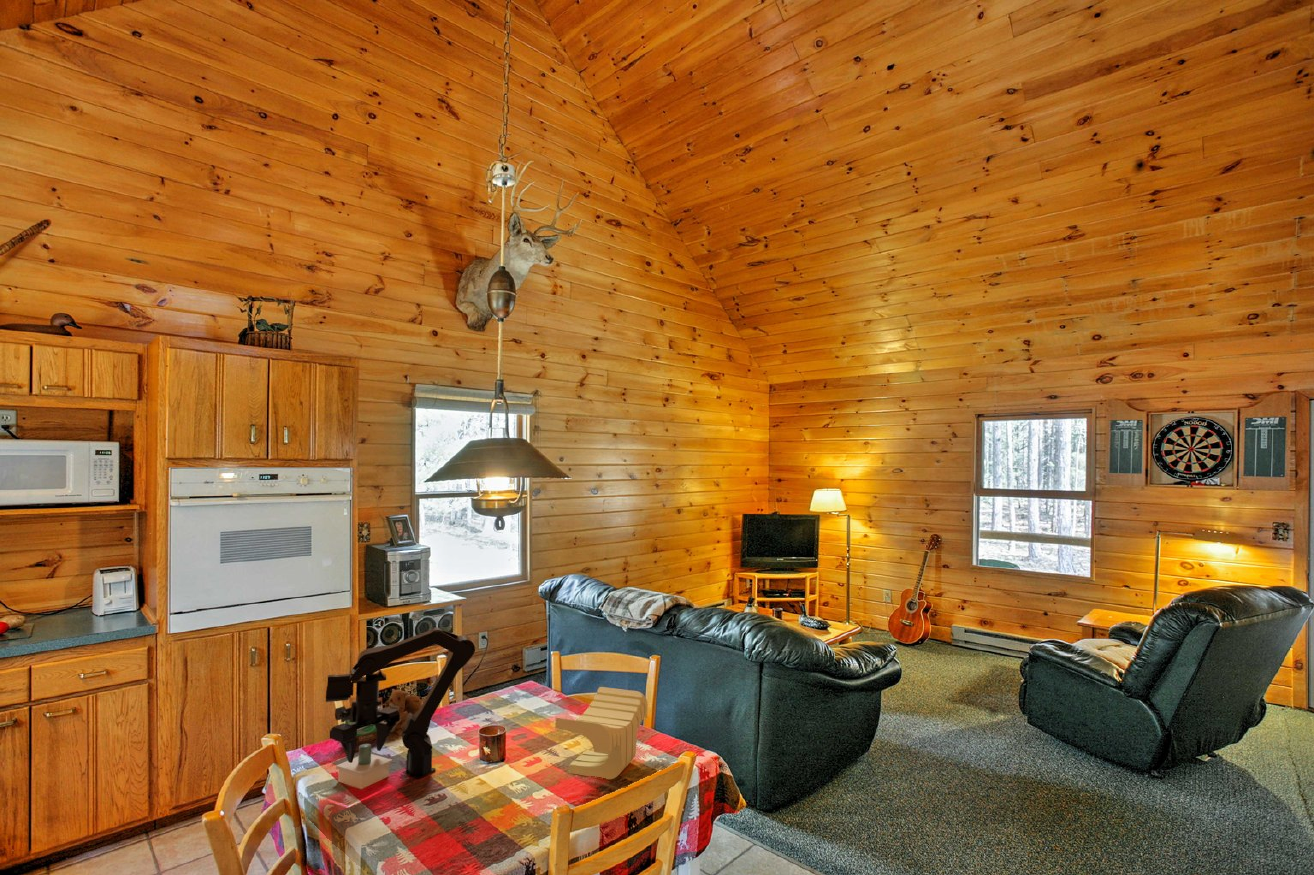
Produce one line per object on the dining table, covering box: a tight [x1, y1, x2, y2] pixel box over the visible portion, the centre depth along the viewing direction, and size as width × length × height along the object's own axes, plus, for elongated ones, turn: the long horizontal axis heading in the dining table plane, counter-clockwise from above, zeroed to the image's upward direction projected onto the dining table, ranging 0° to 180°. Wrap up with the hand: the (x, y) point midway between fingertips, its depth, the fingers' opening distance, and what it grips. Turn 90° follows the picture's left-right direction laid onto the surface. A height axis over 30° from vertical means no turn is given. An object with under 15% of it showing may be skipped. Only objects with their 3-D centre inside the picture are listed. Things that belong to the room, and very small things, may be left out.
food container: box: [345, 704, 384, 745], centre depth 212 cm, size 12×6×10 cm, turn 143°
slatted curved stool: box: [554, 686, 648, 780], centre depth 197 cm, size 30×16×18 cm, turn 161°
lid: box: [335, 743, 393, 777], centre depth 186 cm, size 10×10×5 cm
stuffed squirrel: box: [383, 688, 424, 736], centre depth 224 cm, size 10×14×13 cm
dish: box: [337, 764, 390, 790], centre depth 185 cm, size 9×9×4 cm
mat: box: [331, 751, 390, 766], centre depth 197 cm, size 11×11×1 cm
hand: (364, 756), depth 186 cm, fingers open, 9 cm apart
